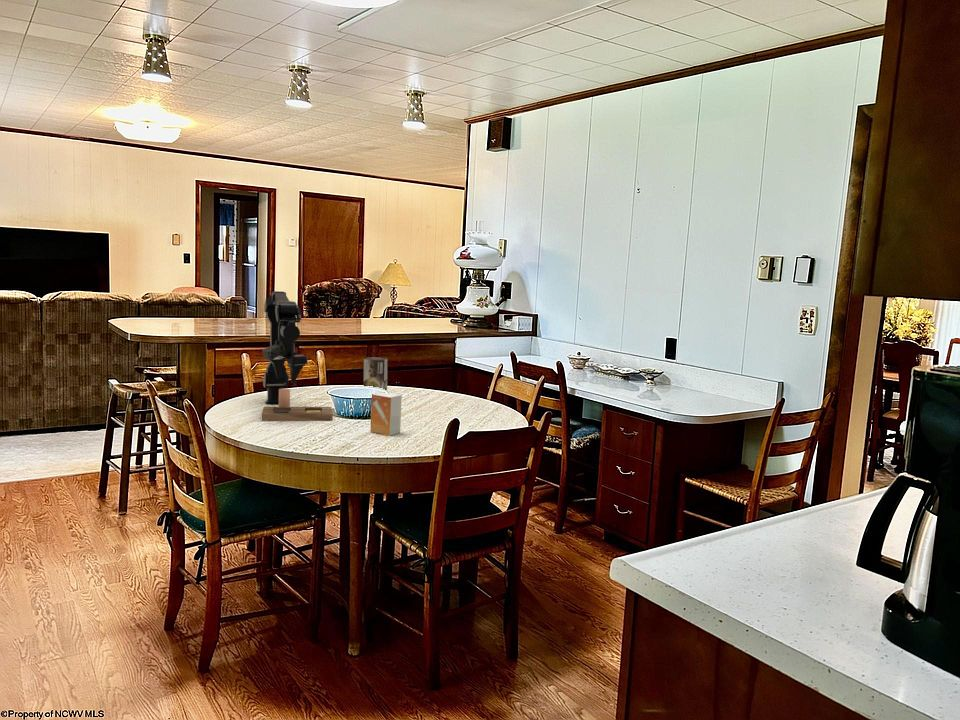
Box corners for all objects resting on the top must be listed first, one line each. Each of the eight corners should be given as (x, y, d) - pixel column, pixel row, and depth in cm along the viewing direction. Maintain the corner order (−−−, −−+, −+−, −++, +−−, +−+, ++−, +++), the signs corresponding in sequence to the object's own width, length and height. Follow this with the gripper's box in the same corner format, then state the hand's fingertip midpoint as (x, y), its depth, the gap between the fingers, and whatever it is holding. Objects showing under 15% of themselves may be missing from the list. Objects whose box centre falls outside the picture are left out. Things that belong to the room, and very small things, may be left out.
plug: (278, 409, 275) (279, 388, 274) (289, 409, 276) (290, 388, 275) (278, 411, 271) (278, 390, 270) (289, 411, 272) (289, 390, 271)
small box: (369, 432, 247) (371, 394, 245) (381, 429, 252) (382, 391, 251) (389, 436, 243) (391, 397, 241) (400, 432, 248) (402, 394, 247)
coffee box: (387, 395, 314) (388, 358, 311) (383, 398, 307) (385, 359, 305) (366, 394, 314) (367, 356, 312) (362, 396, 308) (363, 358, 306)
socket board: (263, 413, 267) (263, 405, 267) (331, 413, 273) (331, 405, 272) (261, 420, 256) (261, 412, 255) (332, 420, 261) (332, 412, 261)
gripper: (252, 335, 262) (251, 378, 264) (280, 342, 249) (279, 387, 252) (279, 333, 270) (279, 375, 272) (308, 340, 257) (307, 384, 260)
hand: (285, 380), depth 264 cm, fingers open, 9 cm apart
